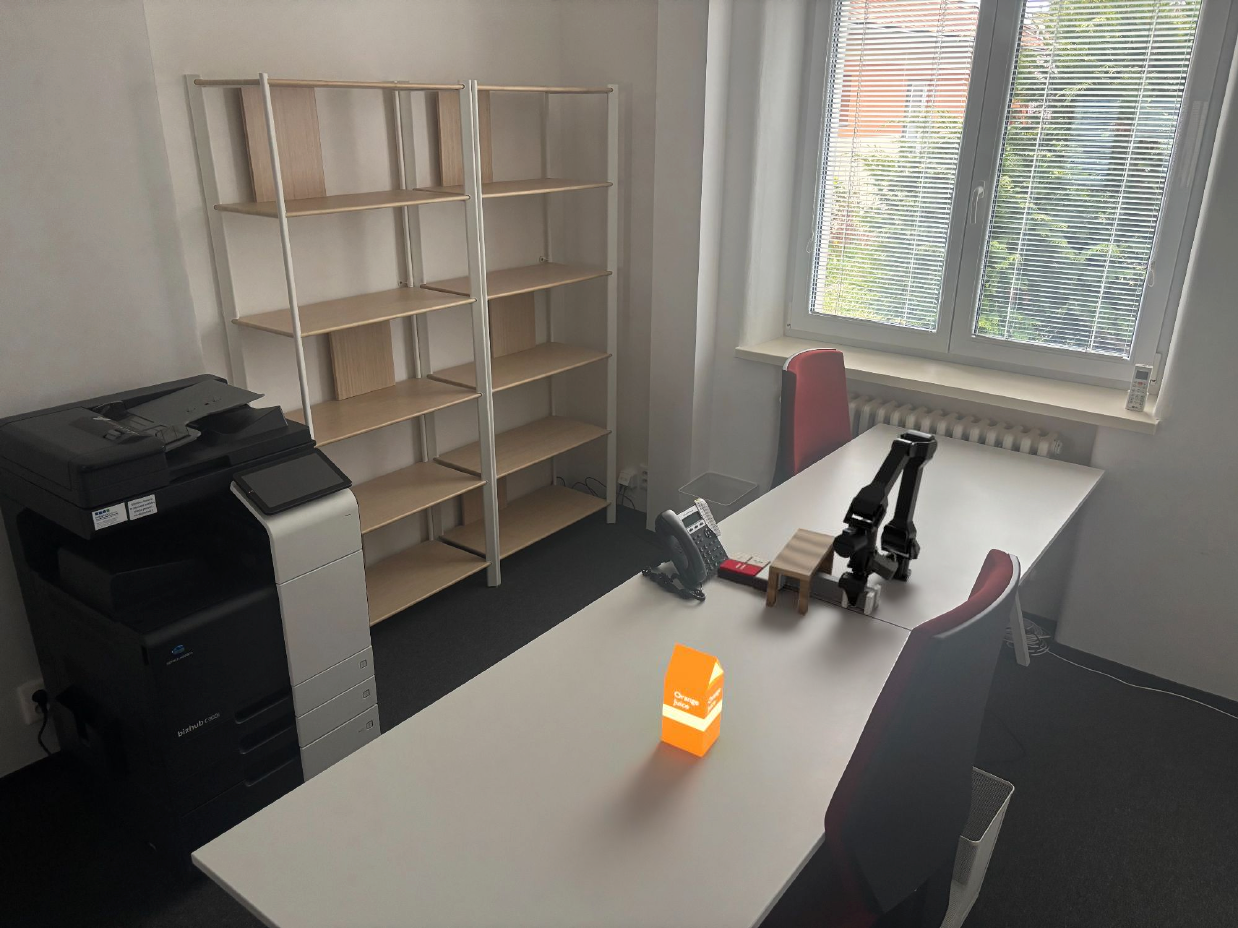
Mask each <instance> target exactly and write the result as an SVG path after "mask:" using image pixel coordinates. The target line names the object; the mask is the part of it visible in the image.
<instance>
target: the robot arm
mask: <svg viewBox="0 0 1238 928" xmlns="http://www.w3.org/2000/svg"><path fill="white" fill-rule="evenodd" d="M938 445H939V444H938V440H937V439H936V438H935V436H934V435H933V434H929V433H924V432H921V431H918V430H914V429H909V430H907V431H906V432H903V433H899V434H898V435H897V438H894V440H892V443H891V446H890V450H889V452H888V453H887V454H886V455H887V456H886V457H885V459H884V460H883V462H882V464H881V465H880V467H879V469H878V471H877V472H876V474H875V475H874V477H873V480H872V481H870V482H869V484H867V485H865V486H863V487H862V488H861V489H860V490H859V491H858V492H857V494H855V496H854V497H852V499H851V502H850V504H849V507H848V509H847V510H846V514H845V515H844V518H843V520H842V523H844V524H846V525H847V528H844V529H843V530H841V531H842V532H841V533H840V534H838V535H837V536H835V537H836V538H835V539H834V541H833V548H834V551H835V552H834V553H835V554H837V556H839V557H840V558H843V559H849V560H848V562H847V563H846V568H848V569H851V571H845V572H842V574H841V575H840V577H839V578H840V579H839V583H838V587H839V588H842V589H844V591H845V593H846V596H847V598H848V601H849V603H850V604H849V605H850V607H853V608H855V607H857V606H856V603H857V600H858V597H859V594H860V593H864V592H865V590H866V588H867V586H868V587H869V585H868V584H869V577H870V575H872V574H876V575H878V576H879V577H881V578H882V579H883V580H885V581H887V582H888V581H891V579H896V580H899V581H900V580H901V581H904V582H907V581H908V579H909V577H910V575H911V573H912V569H911V568H910V563H911V561H913V560H917V559H918V557H919V555H920V553H921V552H920V551H921V546H920V544H919V543H918V541H917V532H918V530H917V528H916V526H915V522H914V515H915V511H916V505H917V502H918V497H919V493H920V492H919V491H920V487H921V482H922V477H923V473H924V468H925V467H926V466H927V465H928V464H929V462H930V461H932V460H933V457H934V455H935V453H936V451H937V449H938ZM901 473H902V474H901ZM900 475H901V479H900V484H899V487H898V488H899V489H898V493H897V497H896V498H897V499H896V503H895V507H894V512H893V518H892V519H890V521H889V522H888V523H886V524H885V525H884V526H883V530H882V532H881V535H880V549H881V551H882V552H886V553H883V554H881V553H879V547H878V546H877V539H878V533H879V532H878V531H879V528H880V527H881V525H882V523H883V521H884V519H885V518H886V515H887V513H888V512H887V511H888V507H889V494H891V493H890V492H891V491H892V489H893V487H894V486H895V484H896V482H897V480H898V478H900ZM853 516H856V517H858V518H856V517H853ZM859 518H861V519H859Z"/></svg>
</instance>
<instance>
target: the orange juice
mask: <svg viewBox="0 0 1238 928" xmlns="http://www.w3.org/2000/svg"><path fill="white" fill-rule="evenodd" d="M724 676H725V672H724V670H723V668H722V665H721V664H720V660H719V659H718V657H716V656H712V655H710V654H708V653H705V652H702V651H700V650H696V649H693V648H691V647H688V646H685V645H682V644H679V643H677V642H675V645H674V648H673V652H672V654H671V658H670V661H669V664H668V667H667V670H666V673H665V676H664V683H663V700H662V701H663V704H662V723H661V725H662V726H661V727H662V728H661V741H662V742H665V743H668V744H670V745H672V746H674V747H677V748H679V749H681V750H684V751H687V752H689V753H691V754H693V755H696V756H698V757H700V758H702V757H703V756H704V755H705V754H706V753H707V751H708V750H709V749H710V747H711V746H712V745H713V744H714V742H716V740H717V739H718V737H719V736H720V729H721V716H722V708H723V707H722V706H723V692H724V689H723V688H724V678H725V677H724Z"/></svg>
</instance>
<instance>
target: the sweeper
mask: <svg viewBox="0 0 1238 928" xmlns="http://www.w3.org/2000/svg"><path fill="white" fill-rule="evenodd" d="M839 579H840V577H838V576H835V575H832V574H831V575H828V574H825V573H822V572H818V571H816V572H815V573H814V574H813V576H812V577H811V585H810V593H814V594H816V595H818V596H819V595H820V596H822V597H826V598H829V599H831V600H835V601H838V602H841V607H843V608H846V609H847V607H849V605H850V603H849V601H848V598H847V596H846V593H845V591H844V589H842V588H839V587H838V583H839ZM800 581H801V579H799V578H795V577H791V576H787V575H783V574H779V579H778V589H777V590H780V589H781V588H783V587H784V586H785V585H788V586H790V587H794V588H797V589H800ZM881 588H882V586H881V584H880V585H879V584H875V585H874V587H871V586H869V585H868V586H867V588H866V590H865V592H864V593H860V594H859V597H858V600H857V603H856V606H855V607H858V608H860V609H864V611H863V615H867V616H870V615H871V613H872V612H873V611H874V610H875V608H876V607H877V606H878V605H879V602H880V600H879V599H880V595H881Z"/></svg>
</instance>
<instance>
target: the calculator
mask: <svg viewBox="0 0 1238 928" xmlns="http://www.w3.org/2000/svg"><path fill="white" fill-rule="evenodd" d="M772 562H773V561H771V560H769V559H766V558H762V557H758V556H753V555H750V554H747V553H742V552H739V551H737V552H735V553H734V554H732V555H731V556H730V557H729V558H727V559H726V560H725V561H724V562H723V563H722V564H720V565H719V566H718V567H717V569H716V570H717V575H716V576H717V578H719V579H721V580H725V581H728V582H731V583H735V584H738V585H741V586H744V587H748V588H751V589H753V590H756V591H759V592H761V593H764V594H767V586H768V575H769V565H770V564H771V563H772Z"/></svg>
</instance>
